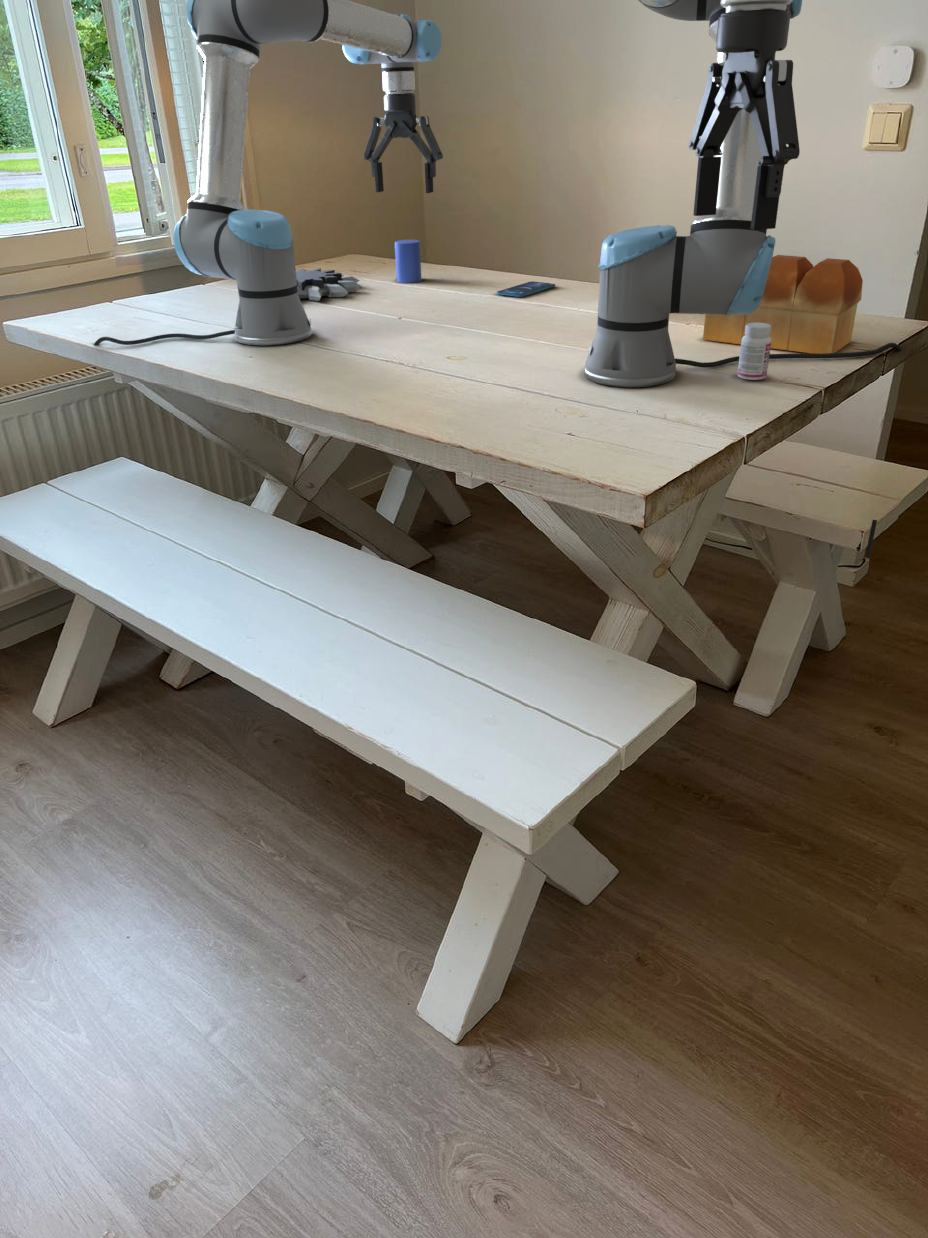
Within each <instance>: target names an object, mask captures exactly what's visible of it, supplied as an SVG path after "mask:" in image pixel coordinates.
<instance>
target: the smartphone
mask: <svg viewBox="0 0 928 1238" xmlns="http://www.w3.org/2000/svg"><path fill="white" fill-rule="evenodd" d="M554 287H556V284H555V283H551V282H544V281H543V282H542V281H527V282H523V283H521V284H517V285H515V286H510V287H507V288H504V289H501V290H497V291H496V295H500V296H508V297H517V298H523V297H527V296H529V295H532V294H536V293H539V292H542V291H546V290H549V289H552V288H554Z"/></svg>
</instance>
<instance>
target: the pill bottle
mask: <svg viewBox="0 0 928 1238" xmlns="http://www.w3.org/2000/svg"><path fill="white" fill-rule="evenodd" d="M770 333H771V325H770V324H766V323H748V324H746V327H745V334H746V335H745V336H744V337H743V338H742V341H741V344H740V348H739V349H740V350H739V356H740V357H739V361H738V367H737V377H738V378H740V379H742V380H748V381H759V380H764V379H766V378H767V377H768V376H767V375H768V369H769V362H770V359H769V356H770V354H771V349H772V348H771V338H770V337H769V335H770Z"/></svg>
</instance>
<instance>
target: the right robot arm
mask: <svg viewBox="0 0 928 1238" xmlns="http://www.w3.org/2000/svg"><path fill="white" fill-rule="evenodd" d="M638 2H639V3H640V4H642V5H643V6H644V7H645V8H647V9H649V10H650V11H652V12H655V13H657V14H659V15H660V16H661V15H662V16H664V17H666V18H669V19H672V20H673V19H674V20H677V21H684V22H685V21H686V22H704V21H707V22H709V23H708V35H709V36H710V38H711V39H712V40H713V42H715V50H716V57H715V59H716V60H715V62H710V64H709V66H708V71H707V77H706V78H707V79H706V85H705V87H704V88H705V89H704V92H703V95H702V99H701V102H700V105H699V107H698V108H699V109H698V112H697V116H696V118H695V122H694V124H693V125H694V126H693V129H692V133H691V135H690V137H689V138H690V139H689V142H688V148H689V150H690V151H694V152H695V156H696V157H698V158H697V159H698V160H697V170H696V179H695V181H696V182H695V193H694V202H693V203H694V204H693V214H692V215H693V216H694V217H696V218H695V219H694V220H693V221H692V222H691V223H690V232H689V235H686V236H685V235H684V236H683V235H677V234H678V231H677V228H676V227H675V226H674V225H668V224H666V225H648V226H641V227H634V228H629V229H625V230H620V231H618V232H614V233H612V234H609V235H608V236H607V237H606V238H605V239H603V241H602V244H601V248H600V249H601V250H600V260H599V264H598V270H599V284H598V302H597V304H598V307H597V326H596V332H595V334H594V337H593V339H592V342H591V343H590V344H589V347H588V350H587V352H588V354H587V356H586V360H585V364H584V377H585V378H587V379H588V381H591V382H594V383H596V384H599V385H604V386H609V387H618V388H619V387H620V388H645V387H654V386H655V387H656V386H660V385H663V384H666V383H669V382H672V381H673V380H674V379H675V378H676V372H677V368H676V367H677V365H685V366H690V367H691V366H692V367H696V368H702V369H703V368H705V369H706V368H715V367H719V366H723V365H727V364H731V363H735V362H739V357H740V355H737V356H732V357H728V358H724V359H720V360H716V361H710V362H702V361H701V362H700V361H695V360H691V359H683V358H675V353H674V350H673V345H672V341H671V336H670V332H669V321H670V314H684V315H685V314H687V315H689V314H690V315H693V314H694V315H697V314H698V315H705V314H724V315H726V316H729V315H734V314H750V313H753V312H754V311H755V310H756V309H757V308H758V307H759V305H760V302H761V299H762V296H763V293H764V289H765V286H766V282H767V278H768V274H769V270H770V266H771V261H772V257H774V251H775V247H776V238H775V237H774V236H772V235H767V231H768V230H773V229H776V226H777V219H778V211H779V202H780V196H781V193H782V186H783V177H784V173H785V172H784V170H785V167H786V165H787V164H789V162H790V161H791V160H796V159H798V158H799V157H800V154H801V153H800V151H801V149H800V142H799V133H798V124H797V123H798V122H797V116H796V108H795V99H794V89H793V74H794V61H793V60H792V59H776V53H777V52H782V51H784V50H785V49H786V47H787V45H788V41H789V40H788V39H789V32H790V23H791V19H794V18H796V17H798V16H799V15H800V14H801V12H802V6H803V0H638ZM888 349H894V350H895V351H896V352H902V348H901V347H900V346H899V345H898V343H896V342H889V343H886V344H884V345H882V346H880V347H878V348H876V349H871V350H862V351H850V352H848V351H847V352H835V353H825V354H813V353H770V356H769V360H783V359H784V360H785V359H790V360H791V359H809V360H810V359H811V360H812V359H818V360H819V359H843V358H844V359H845V358H859V357H869V356H874V355H878V354H881V353H883V352H885V351H886V350H888ZM877 524H878V520H877V519H872V521H871V526H870V530H869V534H868V541H867V546H866V551H865V557H866V558H869V557H871V553H872V548H873V542H874V539H875V533H876V528H877Z"/></svg>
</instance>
